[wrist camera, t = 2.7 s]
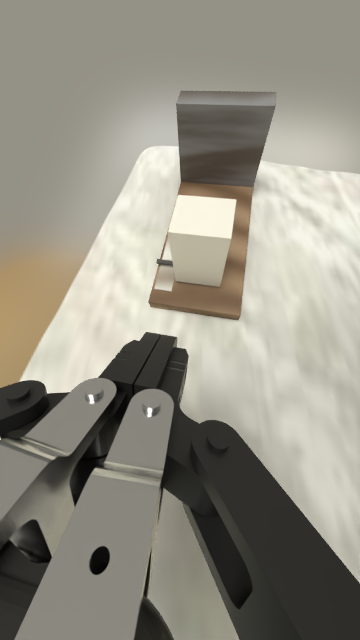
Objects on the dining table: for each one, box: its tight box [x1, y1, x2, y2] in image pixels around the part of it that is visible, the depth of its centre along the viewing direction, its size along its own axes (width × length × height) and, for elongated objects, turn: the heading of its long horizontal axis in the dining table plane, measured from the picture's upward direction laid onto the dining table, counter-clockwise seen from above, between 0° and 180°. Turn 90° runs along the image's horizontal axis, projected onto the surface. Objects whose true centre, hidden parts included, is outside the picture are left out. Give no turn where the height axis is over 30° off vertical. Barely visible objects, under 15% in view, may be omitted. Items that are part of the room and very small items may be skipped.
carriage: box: [157, 195, 236, 287], centre depth 25 cm, size 7×9×9 cm
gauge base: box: [149, 91, 276, 320], centre depth 27 cm, size 28×12×12 cm, turn 169°
